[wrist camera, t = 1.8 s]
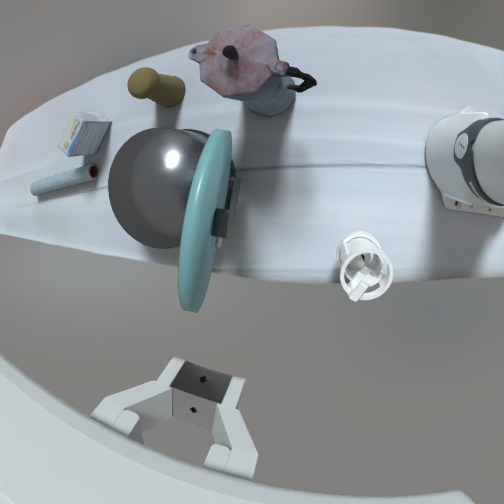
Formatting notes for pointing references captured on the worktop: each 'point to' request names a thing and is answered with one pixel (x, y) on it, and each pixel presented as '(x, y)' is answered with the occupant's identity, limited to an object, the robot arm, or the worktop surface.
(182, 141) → the grey metal pot
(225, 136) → the lid
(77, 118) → the medicine box
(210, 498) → the robot arm
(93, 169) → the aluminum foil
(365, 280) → the white hollow cylindrical part
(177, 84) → the cork
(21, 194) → the worktop surface
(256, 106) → the moka pot
